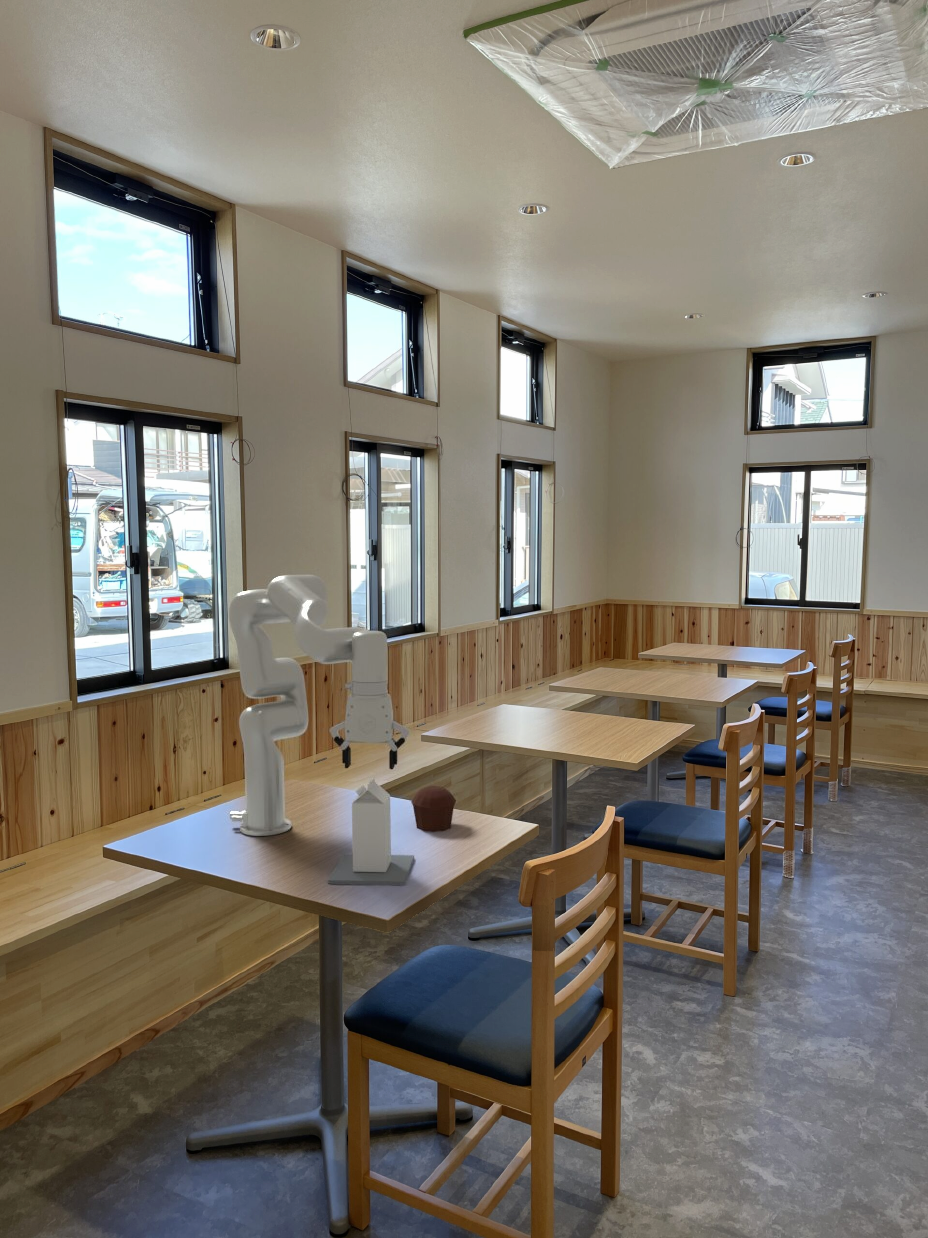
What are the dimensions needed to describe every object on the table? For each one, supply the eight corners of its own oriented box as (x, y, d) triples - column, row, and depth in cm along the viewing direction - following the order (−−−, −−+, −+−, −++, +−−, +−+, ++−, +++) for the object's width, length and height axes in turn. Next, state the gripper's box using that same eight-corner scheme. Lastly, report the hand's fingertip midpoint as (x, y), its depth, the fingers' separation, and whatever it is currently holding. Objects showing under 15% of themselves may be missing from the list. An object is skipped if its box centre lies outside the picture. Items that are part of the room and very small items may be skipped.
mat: (328, 884, 185) (328, 880, 185) (343, 857, 201) (343, 854, 201) (404, 885, 184) (404, 881, 184) (414, 858, 199) (414, 855, 199)
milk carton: (391, 861, 195) (390, 777, 194) (385, 873, 188) (384, 785, 187) (359, 861, 196) (358, 776, 195) (352, 872, 189) (351, 785, 188)
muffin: (461, 831, 219) (461, 791, 218) (418, 835, 216) (417, 795, 215) (448, 818, 230) (448, 780, 230) (407, 822, 227) (406, 783, 227)
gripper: (325, 691, 186) (326, 771, 188) (407, 692, 185) (407, 772, 186) (333, 685, 194) (334, 762, 195) (412, 686, 192) (412, 764, 194)
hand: (369, 767), depth 191 cm, fingers open, 9 cm apart
